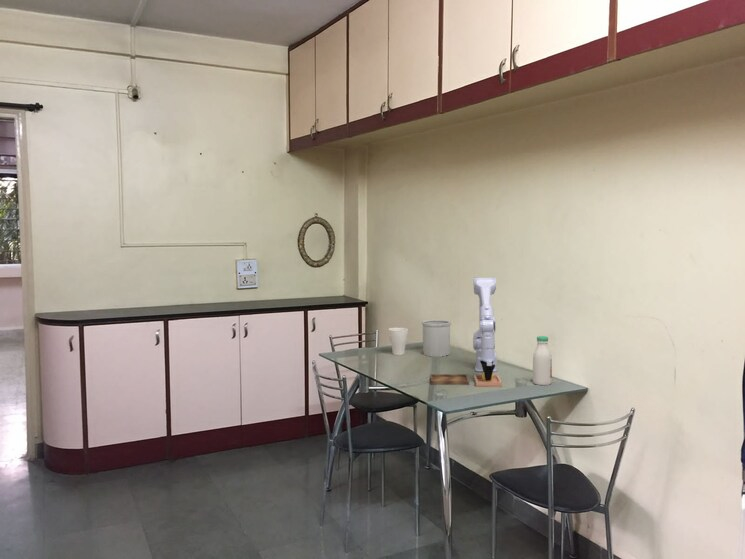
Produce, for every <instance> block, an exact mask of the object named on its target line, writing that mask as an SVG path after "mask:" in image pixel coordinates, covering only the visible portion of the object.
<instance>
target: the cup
mask: <svg viewBox="0 0 745 559" xmlns="http://www.w3.org/2000/svg"><path fill="white" fill-rule="evenodd" d="M387 330H388V338H389V342H390V345H391V349H392V350H391V351H392V355H393V354H394V355H393V356H404V355H405V350H406V349H405V348H406V344H407V341H408V340H407V339H408V335H409V334H408V333H409V328H407V327H389V328H388V329H387ZM403 354H404V355H403Z"/></svg>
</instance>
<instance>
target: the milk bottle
mask: <svg viewBox="0 0 745 559" xmlns="http://www.w3.org/2000/svg"><path fill="white" fill-rule="evenodd" d="M548 343H549V336H545V335H540V336H539V335H538V336H537V337H536V347H535V350H534V352H533V356H532V382H533V384H535V385H539V386H549V385H551V384H552V382H553V381H552V380H553V379H552V374H553V373H552V372H553V371H552V370H553V369H552V368H553V367H552V366H553V365H552V364H553V363H552V357H553V356H552V354H551V350H550V347H549V344H548Z"/></svg>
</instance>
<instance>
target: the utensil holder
mask: <svg viewBox="0 0 745 559" xmlns="http://www.w3.org/2000/svg"><path fill="white" fill-rule="evenodd" d="M451 324H452V323H451V321H450V320H448V319H440V318H438V319H437V318H435V319H431V318H430V319H424V320H422V321H421V325H422V344H423V345H422V347H423V355H424V356H427V357H430V356H431V357H433V358H434V357H435V358H442V356H443V357H447V356H446V355H448V356H450V354H451ZM431 357H430V358H431Z"/></svg>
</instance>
